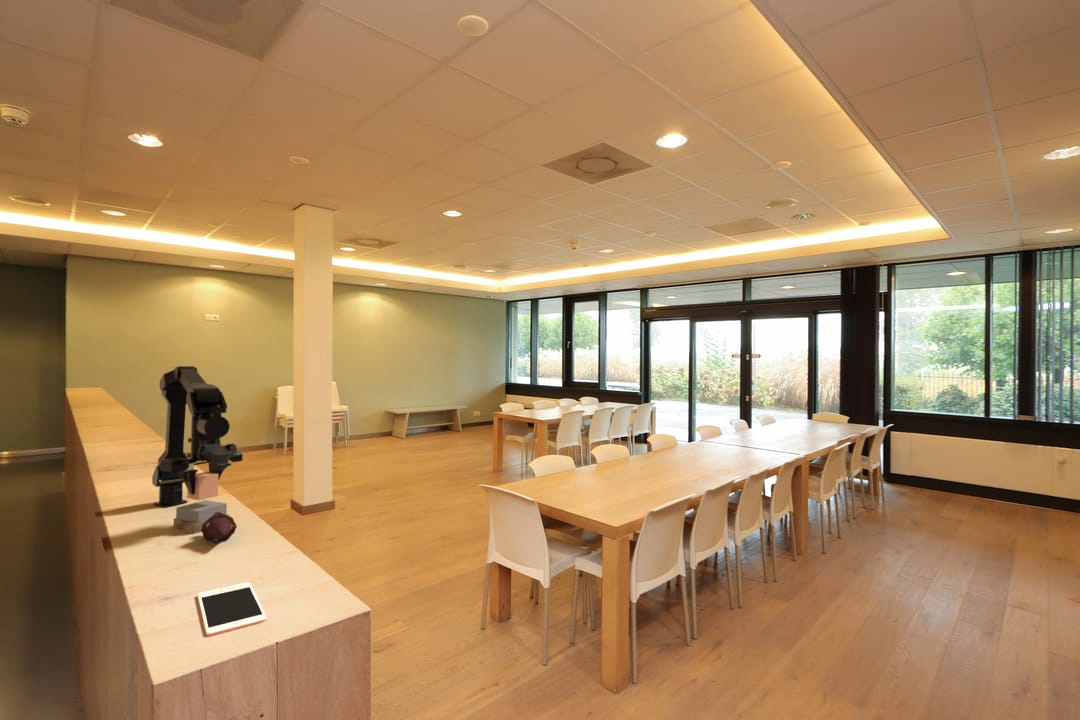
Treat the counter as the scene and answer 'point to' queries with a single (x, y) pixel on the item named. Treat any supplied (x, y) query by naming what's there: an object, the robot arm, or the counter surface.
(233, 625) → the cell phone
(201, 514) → the tower top
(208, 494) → the block
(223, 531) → the maroon plush toy
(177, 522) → the tower bottom
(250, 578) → the counter surface
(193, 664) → the counter surface
